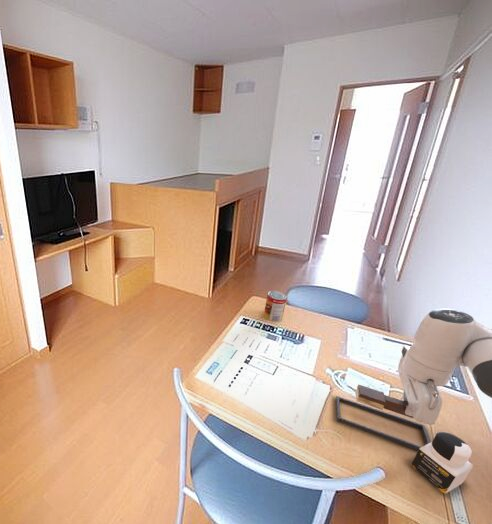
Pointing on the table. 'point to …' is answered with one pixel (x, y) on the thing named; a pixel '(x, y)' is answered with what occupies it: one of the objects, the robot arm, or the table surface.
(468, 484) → the table surface
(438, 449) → the medicine bottle
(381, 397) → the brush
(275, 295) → the canned food
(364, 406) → the empty picture frame
